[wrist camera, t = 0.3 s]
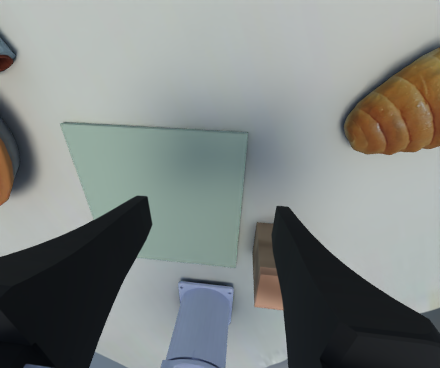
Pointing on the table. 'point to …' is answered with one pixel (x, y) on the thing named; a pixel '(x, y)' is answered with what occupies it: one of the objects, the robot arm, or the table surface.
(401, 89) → the pastry
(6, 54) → the aluminum foil
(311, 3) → the table surface
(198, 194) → the sage mat
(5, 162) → the pie
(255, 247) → the walnut block
